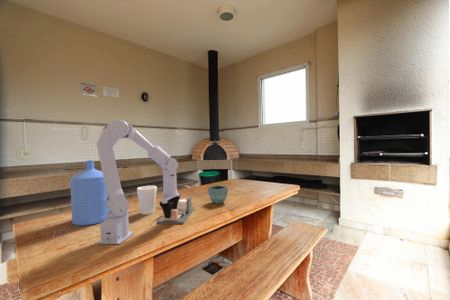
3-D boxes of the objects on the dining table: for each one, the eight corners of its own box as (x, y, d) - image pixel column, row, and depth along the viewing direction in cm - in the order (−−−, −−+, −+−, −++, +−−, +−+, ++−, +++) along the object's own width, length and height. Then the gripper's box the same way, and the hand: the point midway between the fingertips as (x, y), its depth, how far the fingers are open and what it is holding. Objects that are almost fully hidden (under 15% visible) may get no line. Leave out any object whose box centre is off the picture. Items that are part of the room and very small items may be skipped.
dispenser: (183, 223, 90) (182, 205, 90) (156, 223, 91) (156, 205, 91) (194, 209, 110) (194, 194, 110) (172, 209, 111) (172, 194, 111)
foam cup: (150, 216, 101) (150, 189, 100) (134, 215, 103) (133, 189, 102) (160, 210, 110) (160, 185, 110) (145, 209, 112) (144, 185, 111)
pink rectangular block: (176, 220, 90) (176, 210, 90) (163, 220, 91) (163, 210, 91) (183, 213, 100) (183, 204, 100) (171, 212, 101) (171, 204, 101)
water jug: (117, 217, 100) (115, 159, 99) (80, 229, 87) (77, 162, 86) (101, 212, 108) (99, 159, 107) (65, 222, 95) (63, 161, 94)
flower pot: (219, 199, 128) (219, 185, 128) (228, 202, 121) (228, 187, 121) (207, 202, 123) (207, 187, 122) (216, 205, 116) (215, 189, 115)
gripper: (173, 188, 84) (174, 221, 84) (183, 181, 98) (184, 209, 99) (156, 188, 84) (157, 220, 85) (169, 181, 99) (170, 209, 99)
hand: (171, 214), depth 92 cm, fingers open, 7 cm apart
